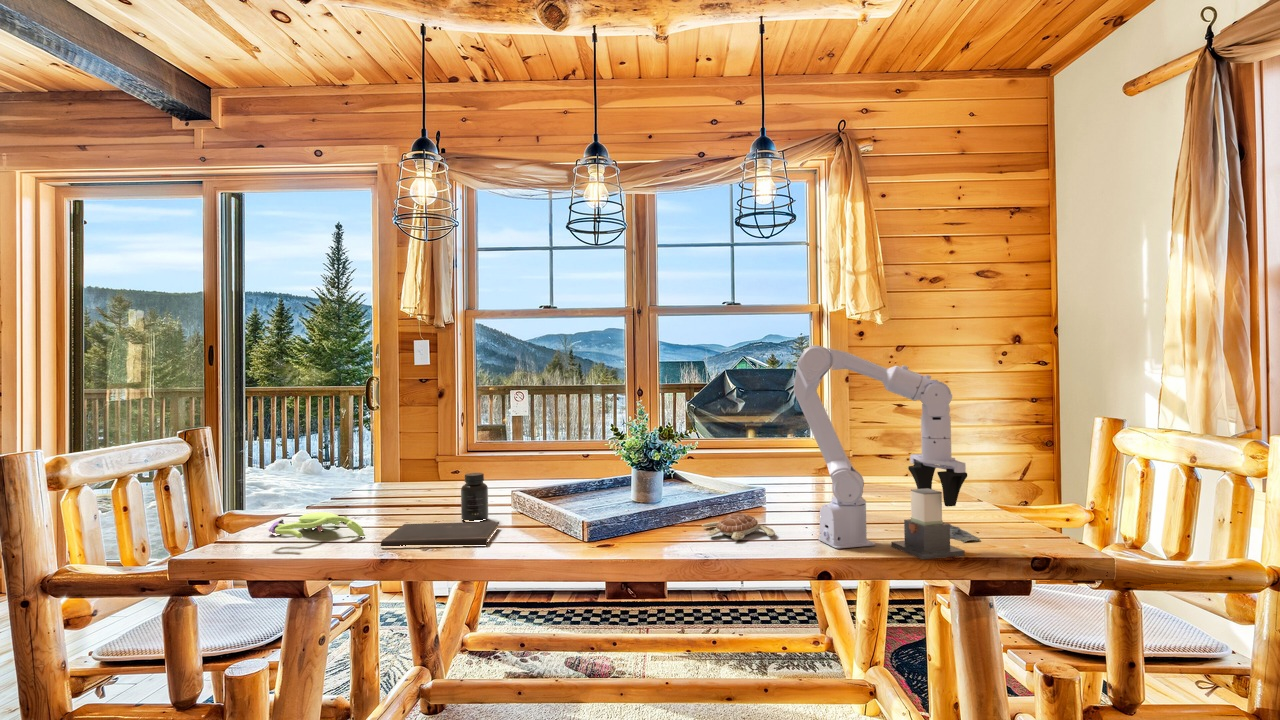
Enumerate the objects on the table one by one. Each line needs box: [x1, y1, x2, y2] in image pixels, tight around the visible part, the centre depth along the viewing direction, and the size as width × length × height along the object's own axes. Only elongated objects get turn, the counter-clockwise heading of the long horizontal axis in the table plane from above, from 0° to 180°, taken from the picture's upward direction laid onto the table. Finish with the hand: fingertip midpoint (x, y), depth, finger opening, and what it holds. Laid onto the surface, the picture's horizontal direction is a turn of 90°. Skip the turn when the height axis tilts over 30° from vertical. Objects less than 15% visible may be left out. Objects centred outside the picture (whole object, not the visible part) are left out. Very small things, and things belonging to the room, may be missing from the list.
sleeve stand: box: [890, 518, 966, 560], centre depth 135 cm, size 10×10×6 cm
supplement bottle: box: [460, 472, 489, 521], centre depth 168 cm, size 7×7×12 cm
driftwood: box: [946, 522, 982, 544], centre depth 151 cm, size 21×7×2 cm, turn 178°
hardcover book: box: [380, 521, 500, 547], centre depth 150 cm, size 16×23×2 cm
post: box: [910, 488, 944, 526], centre depth 135 cm, size 4×4×9 cm
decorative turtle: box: [701, 512, 776, 541], centre depth 151 cm, size 18×17×5 cm
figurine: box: [268, 511, 366, 539], centre depth 154 cm, size 18×27×6 cm
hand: (937, 502), depth 135 cm, fingers open, 7 cm apart
